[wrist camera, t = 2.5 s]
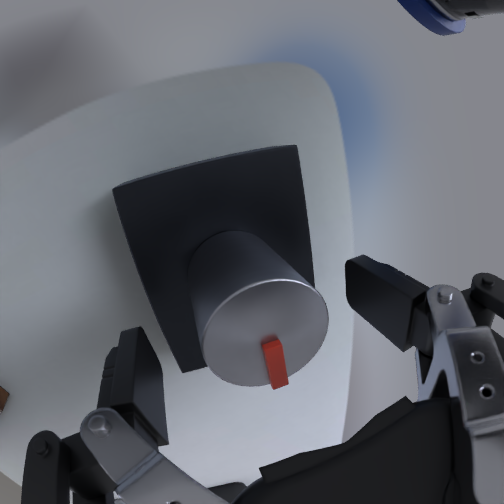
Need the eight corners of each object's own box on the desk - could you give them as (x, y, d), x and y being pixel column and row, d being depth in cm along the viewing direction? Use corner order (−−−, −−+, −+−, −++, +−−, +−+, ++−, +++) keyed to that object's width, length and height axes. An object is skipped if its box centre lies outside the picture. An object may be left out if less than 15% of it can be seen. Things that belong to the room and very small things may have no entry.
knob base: (123, 182, 12) (111, 188, 10) (273, 146, 14) (297, 144, 11) (178, 341, 16) (182, 373, 13) (297, 304, 18) (318, 329, 15)
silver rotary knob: (176, 244, 11) (183, 311, 6) (266, 219, 12) (332, 264, 7) (201, 322, 13) (223, 407, 8) (279, 297, 13) (334, 366, 9)
